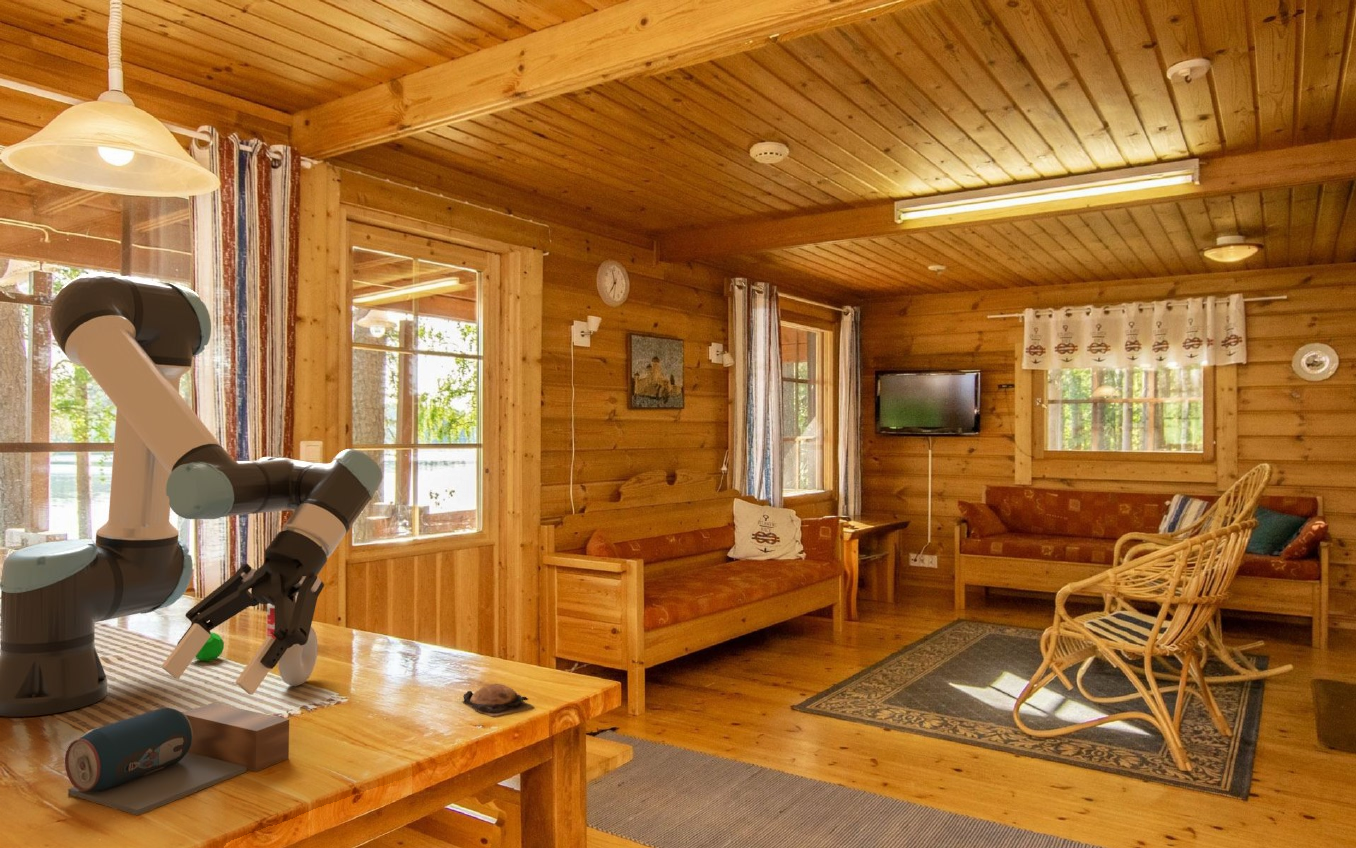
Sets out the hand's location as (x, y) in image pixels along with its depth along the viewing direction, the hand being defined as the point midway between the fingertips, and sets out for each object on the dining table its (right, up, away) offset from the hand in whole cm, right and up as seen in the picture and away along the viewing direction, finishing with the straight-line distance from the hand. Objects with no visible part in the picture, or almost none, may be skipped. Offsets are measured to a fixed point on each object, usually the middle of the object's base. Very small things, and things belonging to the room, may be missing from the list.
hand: (205, 681), depth 114 cm
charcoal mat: (-3, -11, -5) cm, 12 cm away
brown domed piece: (+31, -12, +27) cm, 43 cm away
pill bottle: (-16, -10, +60) cm, 62 cm away
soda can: (-4, -6, 0) cm, 7 cm away
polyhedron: (-24, -10, +48) cm, 55 cm away
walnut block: (+1, -11, +4) cm, 12 cm away
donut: (-3, -11, +35) cm, 37 cm away
